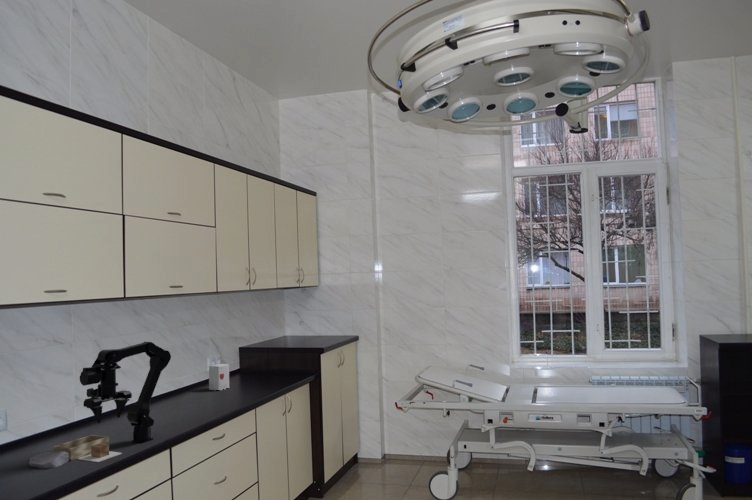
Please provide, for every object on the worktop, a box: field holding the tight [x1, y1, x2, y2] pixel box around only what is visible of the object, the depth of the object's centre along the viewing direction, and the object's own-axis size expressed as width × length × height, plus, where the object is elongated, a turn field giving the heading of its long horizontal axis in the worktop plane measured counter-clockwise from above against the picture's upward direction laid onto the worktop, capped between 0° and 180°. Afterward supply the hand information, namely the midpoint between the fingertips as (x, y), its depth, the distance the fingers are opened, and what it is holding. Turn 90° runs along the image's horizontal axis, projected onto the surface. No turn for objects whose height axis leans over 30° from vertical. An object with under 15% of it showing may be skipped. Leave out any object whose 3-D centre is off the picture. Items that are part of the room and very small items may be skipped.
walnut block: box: [91, 443, 110, 458], centre depth 222 cm, size 4×5×4 cm
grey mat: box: [77, 450, 123, 463], centre depth 222 cm, size 11×11×1 cm
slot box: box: [53, 434, 110, 462], centre depth 228 cm, size 17×10×4 cm, turn 155°
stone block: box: [28, 451, 70, 469], centre depth 215 cm, size 12×5×10 cm
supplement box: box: [208, 363, 230, 391], centre depth 355 cm, size 9×9×15 cm
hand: (108, 420), depth 231 cm, fingers open, 9 cm apart
